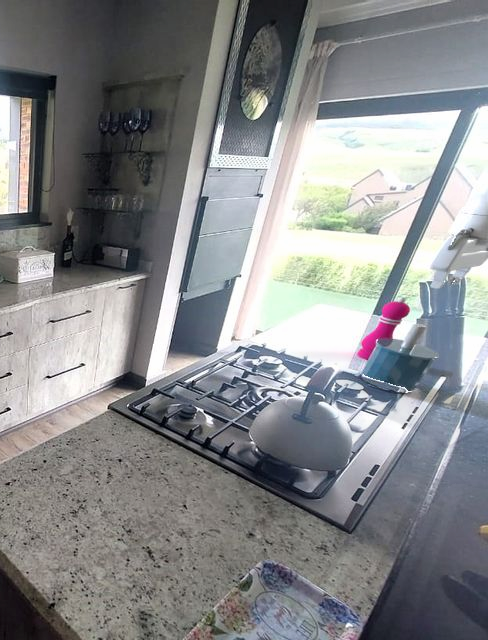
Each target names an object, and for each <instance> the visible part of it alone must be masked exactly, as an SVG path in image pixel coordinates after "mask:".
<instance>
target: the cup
mask: <svg viewBox="0 0 488 640" xmlns="http://www.w3.org/2000/svg"><path fill="white" fill-rule="evenodd" d="M434 361H435V360H421V359H415V358H410V357H405V356H402V355H398V354H395V353H392V352H389V351H387V350H385V349H383V348H381V347H379V346H378V345H376V347H375V348H374V350H373V352H372V354H371V355H370V357H369V359H368V360H367V361H366V363H365V365H364V366H363V368H362V370H361V371H360V374H361V373H362V374H364V375H365V376H368V377H370V378H373V379H376V380H380V381H384V382H387V383H390V384H393V385H396V386H401V387H405V388H406V389H407V390H408V391H413V390H414V391H415V390H416V389H417V387H418V386H419V384H420V382H421V381H422V380H423V378H424V376H425V374H426V373H427V371H428V370H429V368H430V367H431V365H432V364H433V362H434ZM414 391H413V392H414Z"/></svg>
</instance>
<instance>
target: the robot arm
mask: <svg viewBox="0 0 488 640" xmlns="http://www.w3.org/2000/svg"><path fill="white" fill-rule="evenodd" d="M448 233H449V234H451V236H449V237H447V238H446V239H445V240H444V242H443V243H442V244H441V246H440V247H439V249H438V251H437V252H436V253H435V256H434V257H433V259H432V260H431V262H430V264H429V269H430V270H434V271H435V272H434V275H433V279H432V282H431V283H430V288H433V289H436V290H437V289H441V288H443V287H444V285H445V284H446V282H447V284H448V285H452V286H456V285H460V283H461V282H462V280H463V278H465V276H466V275H467V274H468V273H469V272H470V271H471V269H472V268H476V267H481V266H482V265H483V264H484V263H485V262H487V260H488V166H487V167H486V168H485V170H484V171H483V173H482V174H481V175H480V177H479V178H478V180H477V182H476V183H475V185H474V187H473V188H472V190H471V192H470V196H469V200H468V202H467V203H466V205H464V207H462V209H461V210H460V211H459V213H458V214H457V216H456V218H455V220H454V222H453V223H452V225H451V227H450V229H449V231H448ZM453 271H454V273H453V274H452V275H451V276H450V277H449V278H448V276H449V275H450V273H451V272H453ZM447 278H448V281H446V279H447Z"/></svg>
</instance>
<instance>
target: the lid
mask: <svg viewBox="0 0 488 640" xmlns="http://www.w3.org/2000/svg"><path fill="white" fill-rule="evenodd" d="M427 327H428V326H427V325H425V324H422V323H413V324H412V326H411V328H410V329H409V331H408V332H407V334H406V336H405V337H404V339H398V338H393V339H391V338H380V339H378V340H377V341H376V344H377V345H378V346H379V347H381V348H383V349H385V350H387V351H389V352H392V353H395V354H398V355H402V356H405V357H410V358H415V359H421V360H434V361H435V360H438V358H439V356H440V354H439V353H438V352H437V351H435V350H433V349H432V348H430V347H428V346H425V345H422V344H419V343H418V342H419V341H420V339H421V338H422V336H423V334H424V333H425V331H426V329H428V328H427Z"/></svg>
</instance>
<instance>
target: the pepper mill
mask: <svg viewBox="0 0 488 640" xmlns="http://www.w3.org/2000/svg"><path fill="white" fill-rule="evenodd" d="M406 301H407V300H406V298H405V297H404V296H400V297H398V298H397V300H396V301H395V300H394V301H390V302H388V303H386V304H384V305H383V307H382V309H381V313H382V314H381V315H380V317H379V318H378V321H379V323H378V325H377V326H376V328H375V329H374V330H372V331H371V332H370V333H369V334H367V335H366V336H365V337H364V338H363V339H362V340H361V343H360V344H361V348H359V350H358V352H357V356H358V357H359V358H361V359H364V360H367V361H368V359H369V357H370V355H371V354H372V352H373V350H374V348H375V347H376V345H377V344H376V341H377V340H378V339H380V338H391V339H394V336H393V335H394V332H395V330H396V328H397V327H398V325H399V326H400V325H401V323H402V322H403V319H404V318H406V317H407V316H408V315H409V314H410V311H411V308H410V306H409V304H407V303H406Z"/></svg>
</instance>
